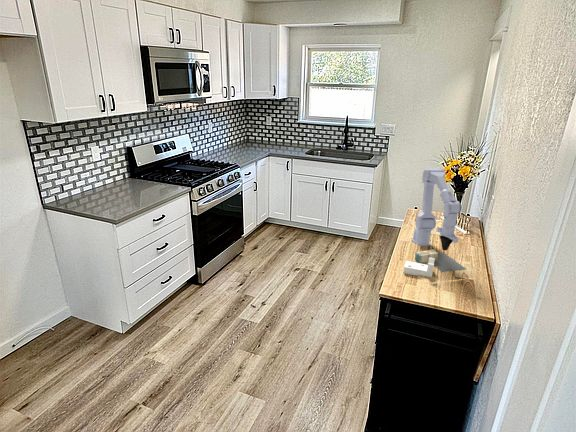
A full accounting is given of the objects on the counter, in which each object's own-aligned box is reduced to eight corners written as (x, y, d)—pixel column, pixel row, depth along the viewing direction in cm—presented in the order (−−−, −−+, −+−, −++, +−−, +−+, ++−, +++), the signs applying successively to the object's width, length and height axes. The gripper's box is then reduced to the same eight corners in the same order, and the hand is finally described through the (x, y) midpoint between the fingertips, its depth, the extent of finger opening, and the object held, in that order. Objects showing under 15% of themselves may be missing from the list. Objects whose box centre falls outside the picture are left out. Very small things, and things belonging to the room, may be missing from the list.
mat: (420, 255, 198) (420, 254, 198) (443, 253, 201) (443, 252, 201) (441, 273, 181) (441, 271, 181) (466, 270, 184) (466, 269, 184)
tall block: (433, 256, 195) (415, 259, 194) (433, 249, 193) (415, 252, 192) (437, 260, 191) (419, 263, 190) (438, 253, 189) (419, 256, 188)
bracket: (432, 272, 182) (434, 258, 179) (431, 279, 176) (433, 264, 173) (405, 266, 187) (406, 253, 184) (403, 273, 181) (405, 259, 178)
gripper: (433, 220, 190) (429, 244, 194) (451, 231, 176) (446, 256, 181) (445, 219, 191) (441, 243, 196) (464, 230, 178) (459, 255, 183)
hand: (444, 249), depth 189 cm, fingers closed
